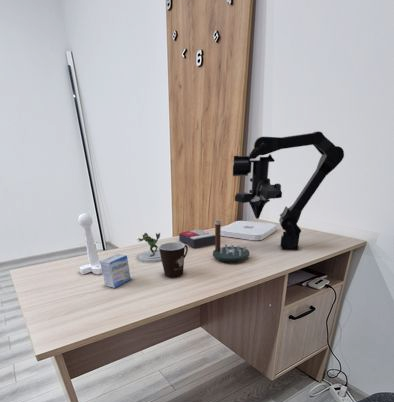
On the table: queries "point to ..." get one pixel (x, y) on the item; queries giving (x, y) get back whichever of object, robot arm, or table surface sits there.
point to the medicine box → (115, 270)
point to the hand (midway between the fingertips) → (257, 218)
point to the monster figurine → (151, 254)
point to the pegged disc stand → (227, 248)
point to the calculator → (197, 238)
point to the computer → (248, 230)
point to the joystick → (89, 247)
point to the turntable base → (231, 261)
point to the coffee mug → (173, 258)
